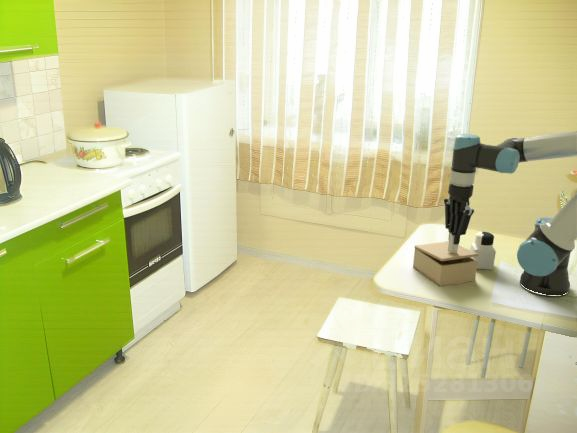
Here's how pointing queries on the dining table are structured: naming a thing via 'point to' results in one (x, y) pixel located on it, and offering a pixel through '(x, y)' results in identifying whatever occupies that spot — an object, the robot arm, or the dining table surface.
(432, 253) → the lid
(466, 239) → the dining table surface
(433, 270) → the box
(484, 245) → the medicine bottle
